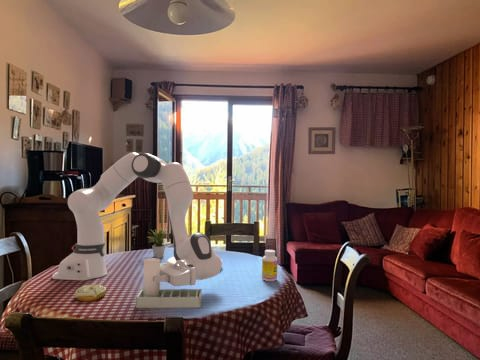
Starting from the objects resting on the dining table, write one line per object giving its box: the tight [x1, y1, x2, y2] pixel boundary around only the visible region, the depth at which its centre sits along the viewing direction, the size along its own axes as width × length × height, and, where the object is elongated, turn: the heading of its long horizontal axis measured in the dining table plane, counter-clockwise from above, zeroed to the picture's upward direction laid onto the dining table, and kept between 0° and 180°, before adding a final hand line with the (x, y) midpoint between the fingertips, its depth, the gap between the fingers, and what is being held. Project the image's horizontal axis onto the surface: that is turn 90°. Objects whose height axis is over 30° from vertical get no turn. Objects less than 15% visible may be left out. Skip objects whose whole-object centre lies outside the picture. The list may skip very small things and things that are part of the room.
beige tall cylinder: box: [142, 257, 161, 297], centre depth 131 cm, size 6×6×13 cm
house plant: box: [147, 227, 171, 259], centre depth 205 cm, size 14×14×16 cm
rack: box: [135, 288, 203, 309], centre depth 131 cm, size 22×9×4 cm, turn 94°
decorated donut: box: [74, 284, 107, 303], centre depth 136 cm, size 10×11×4 cm
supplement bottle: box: [261, 249, 278, 282], centre depth 163 cm, size 7×7×13 cm
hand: (149, 277), depth 130 cm, fingers closed on beige tall cylinder, 5 cm apart
